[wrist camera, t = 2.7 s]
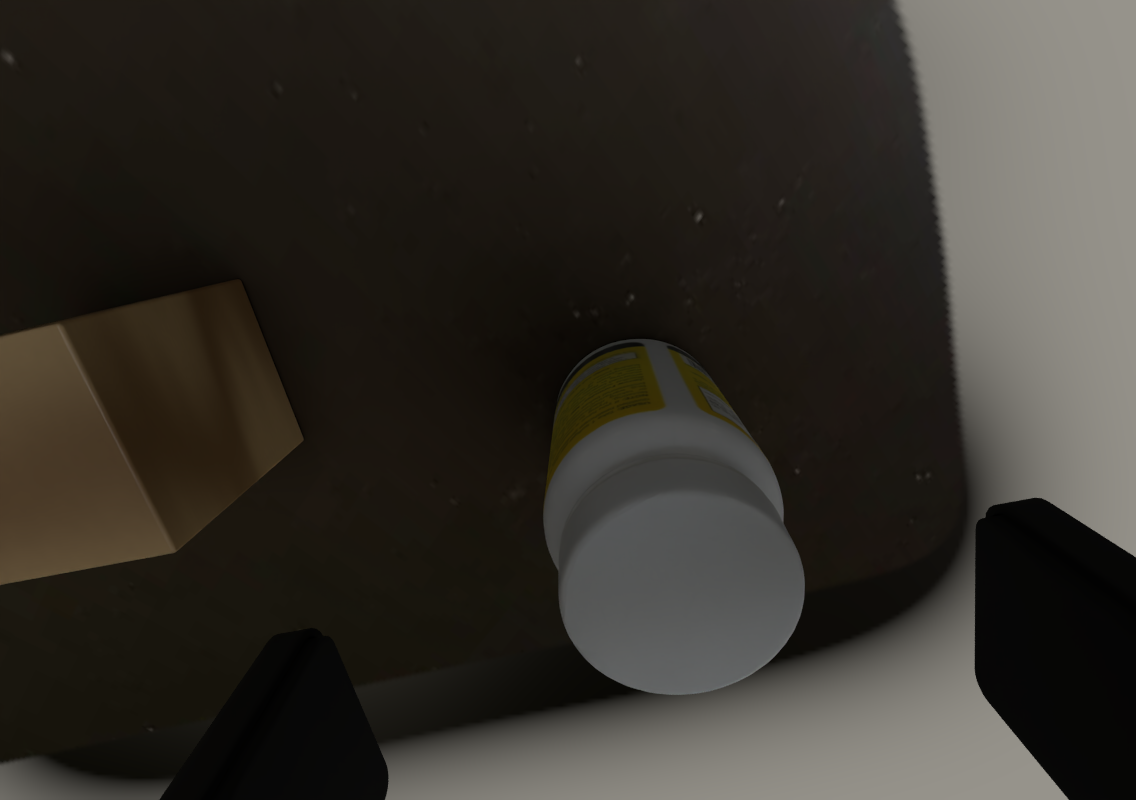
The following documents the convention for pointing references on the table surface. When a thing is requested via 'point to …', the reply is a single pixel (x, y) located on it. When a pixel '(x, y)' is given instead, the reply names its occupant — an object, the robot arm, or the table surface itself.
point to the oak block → (133, 429)
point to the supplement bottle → (665, 525)
